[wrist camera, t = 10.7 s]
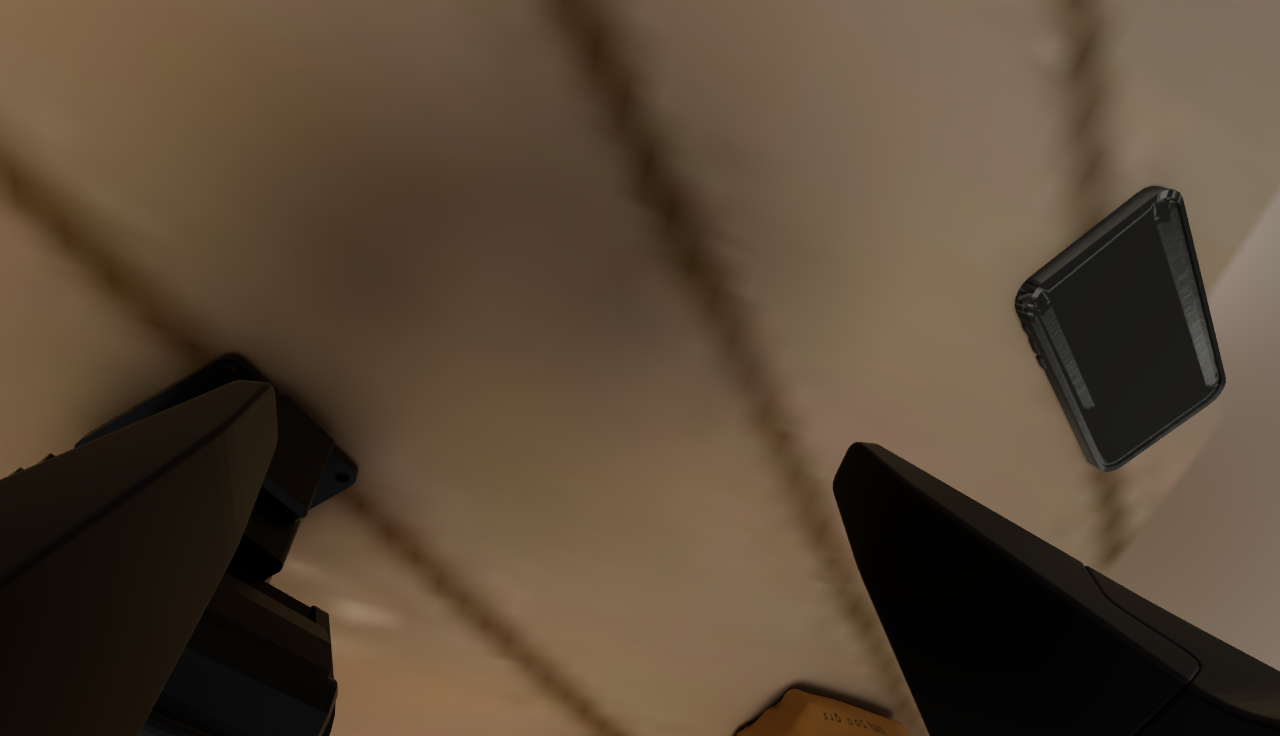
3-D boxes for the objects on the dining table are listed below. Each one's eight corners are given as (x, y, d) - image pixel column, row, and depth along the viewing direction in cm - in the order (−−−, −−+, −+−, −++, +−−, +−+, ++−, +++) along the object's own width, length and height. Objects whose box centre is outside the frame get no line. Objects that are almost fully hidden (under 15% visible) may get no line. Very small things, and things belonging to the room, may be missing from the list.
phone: (1178, 177, 25) (1229, 390, 32) (1152, 172, 26) (1207, 380, 33) (1018, 301, 26) (1102, 480, 33) (999, 292, 27) (1085, 468, 34)
